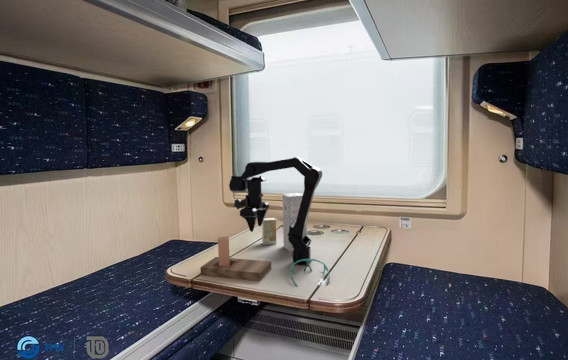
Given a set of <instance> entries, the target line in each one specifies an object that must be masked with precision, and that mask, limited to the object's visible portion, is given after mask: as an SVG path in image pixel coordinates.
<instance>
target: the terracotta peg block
mask: <svg viewBox="0 0 568 360" xmlns="http://www.w3.org/2000/svg"><path fill="white" fill-rule="evenodd" d="M217 245H218V246H217V247H218V248H217V250H218V251H217V252H218V257H219V266H221V267H230V258H231V257H230V237H229V236H218V237H217Z"/></svg>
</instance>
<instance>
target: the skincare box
mask: <svg viewBox="0 0 568 360" xmlns="http://www.w3.org/2000/svg"><path fill="white" fill-rule="evenodd" d="M261 227H262V229H261V230H262V231H261V232H262V235H261V236H262V237H261V238H262V241H261V242H262V244H263V245H265V246H266V245H267V246H268V245H269V246H270V245H276V244H277V219H276V218H275V217H268V218H267V217H264V220H263V222H262V225H261Z"/></svg>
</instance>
